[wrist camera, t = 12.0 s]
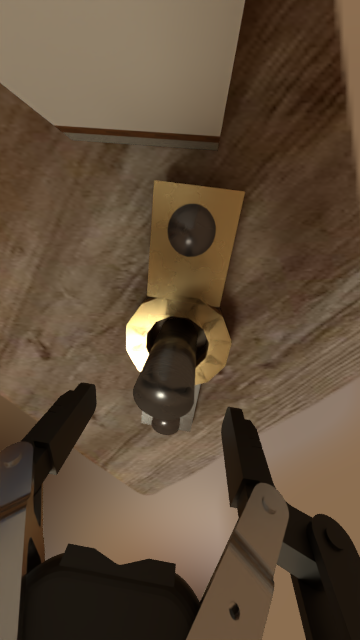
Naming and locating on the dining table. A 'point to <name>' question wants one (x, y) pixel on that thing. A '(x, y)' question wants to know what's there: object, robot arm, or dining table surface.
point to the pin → (169, 372)
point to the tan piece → (187, 277)
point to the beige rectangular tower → (123, 67)
